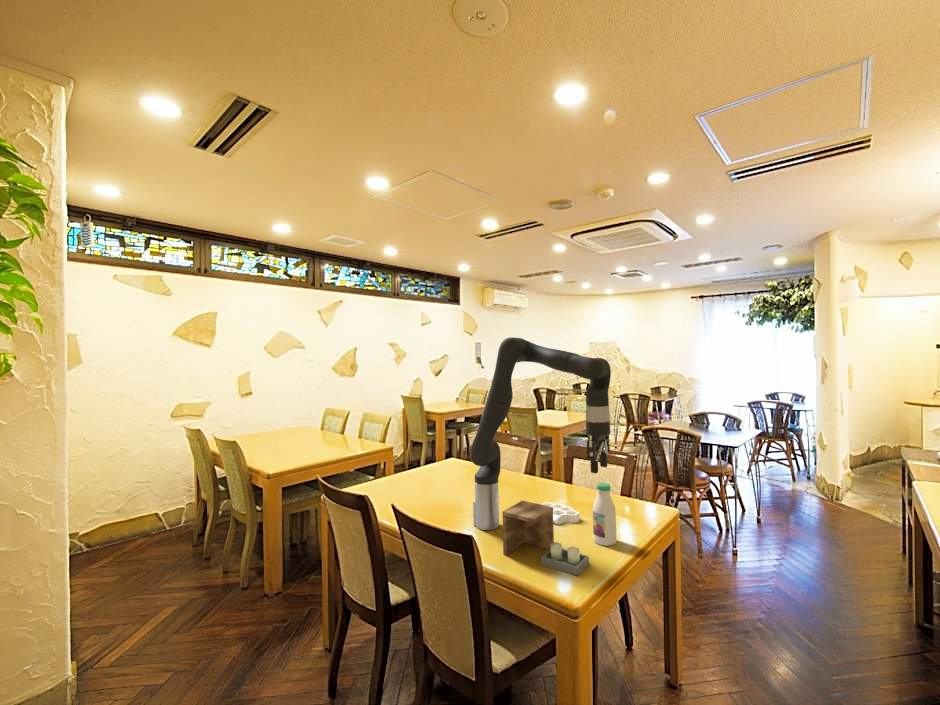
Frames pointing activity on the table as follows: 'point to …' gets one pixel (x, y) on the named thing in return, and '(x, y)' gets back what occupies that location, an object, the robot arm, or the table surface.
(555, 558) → the cream cylinder
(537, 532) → the brown wooden cube
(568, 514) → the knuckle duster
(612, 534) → the milk bottle
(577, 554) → the cream piece
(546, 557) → the tray
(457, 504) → the table surface
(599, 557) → the table surface
